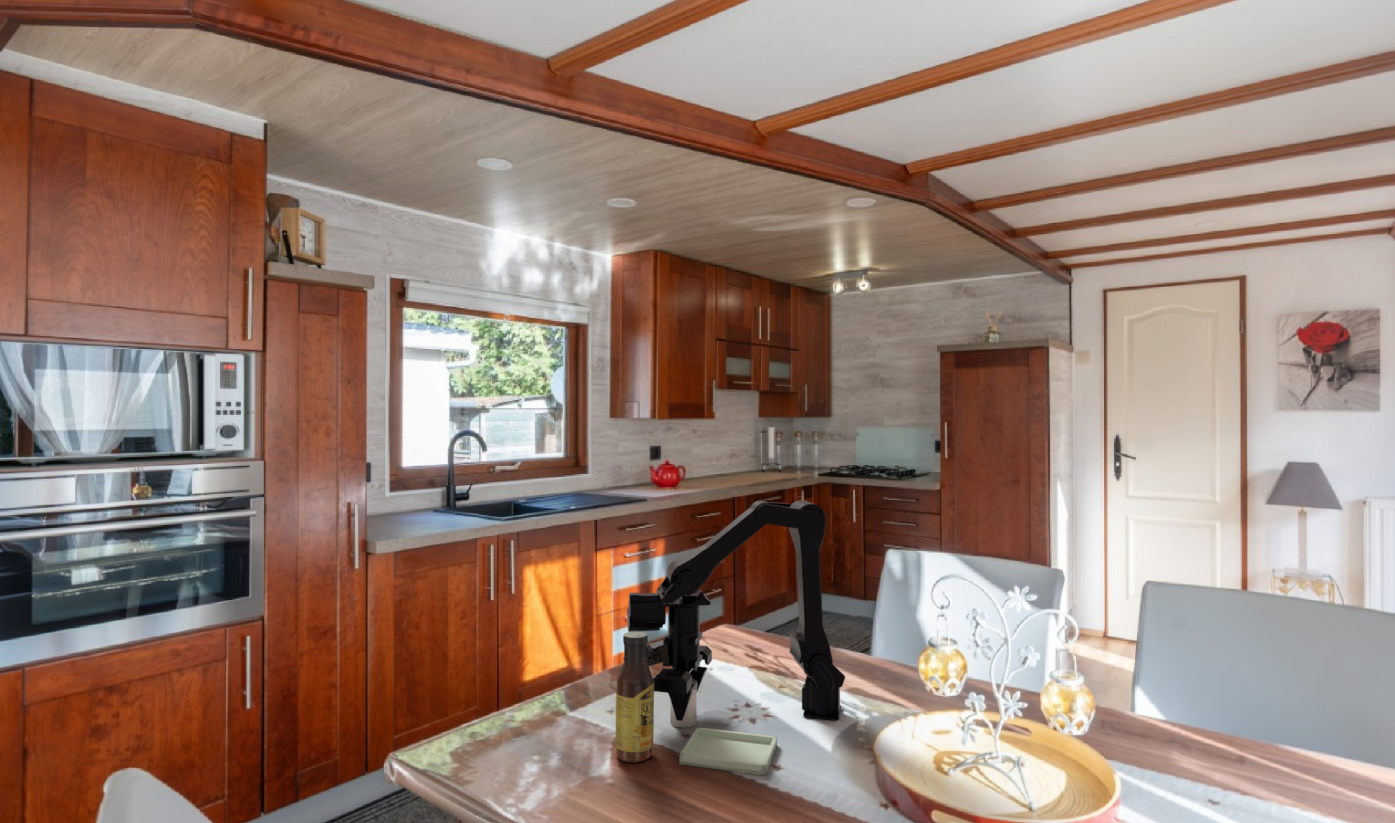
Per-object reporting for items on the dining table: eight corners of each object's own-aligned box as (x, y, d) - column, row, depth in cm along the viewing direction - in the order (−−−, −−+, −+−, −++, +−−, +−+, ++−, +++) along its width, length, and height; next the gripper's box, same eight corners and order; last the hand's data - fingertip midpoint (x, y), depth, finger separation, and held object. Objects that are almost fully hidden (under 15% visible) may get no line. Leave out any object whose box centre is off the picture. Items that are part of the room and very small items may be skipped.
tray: (777, 745, 129) (777, 736, 129) (765, 775, 118) (765, 765, 118) (697, 735, 132) (697, 727, 132) (679, 764, 122) (679, 754, 122)
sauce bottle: (647, 766, 121) (648, 641, 121) (610, 762, 122) (610, 639, 122) (658, 748, 127) (658, 630, 127) (622, 744, 129) (622, 627, 128)
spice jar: (700, 718, 140) (700, 678, 140) (693, 729, 135) (693, 688, 135) (674, 715, 141) (674, 675, 141) (666, 725, 136) (666, 685, 136)
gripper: (657, 612, 149) (657, 691, 149) (624, 640, 131) (623, 730, 131) (712, 616, 146) (712, 697, 146) (685, 645, 128) (685, 737, 128)
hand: (683, 714), depth 138 cm, fingers closed on spice jar, 5 cm apart
